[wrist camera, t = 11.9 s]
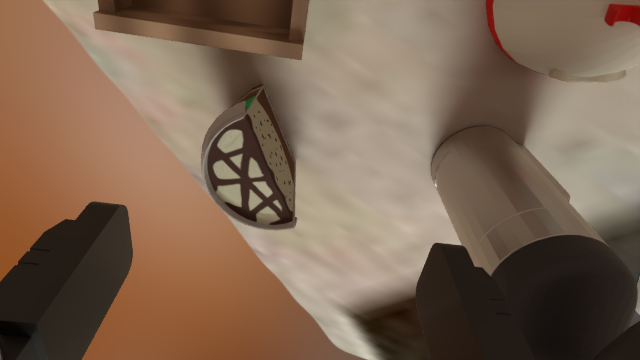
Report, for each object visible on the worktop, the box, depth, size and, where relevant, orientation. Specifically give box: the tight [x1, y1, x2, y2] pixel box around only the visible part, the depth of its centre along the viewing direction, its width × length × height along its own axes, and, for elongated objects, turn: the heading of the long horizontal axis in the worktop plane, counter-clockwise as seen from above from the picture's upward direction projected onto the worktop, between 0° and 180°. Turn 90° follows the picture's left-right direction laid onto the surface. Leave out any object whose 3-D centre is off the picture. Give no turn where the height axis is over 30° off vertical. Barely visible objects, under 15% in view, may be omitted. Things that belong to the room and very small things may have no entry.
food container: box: [201, 84, 297, 230], centre depth 38 cm, size 12×6×10 cm, turn 18°
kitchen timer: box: [486, 0, 640, 83], centre depth 29 cm, size 14×14×15 cm
